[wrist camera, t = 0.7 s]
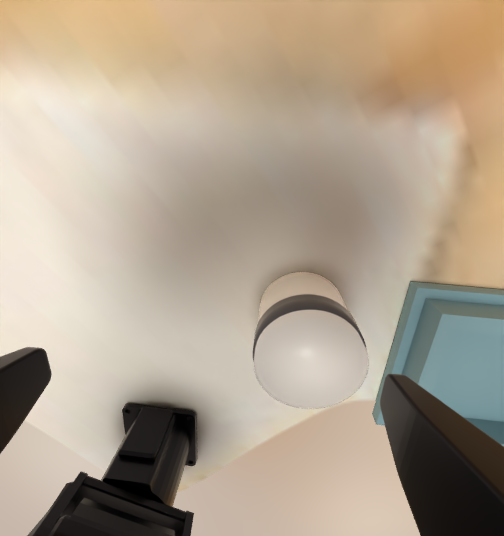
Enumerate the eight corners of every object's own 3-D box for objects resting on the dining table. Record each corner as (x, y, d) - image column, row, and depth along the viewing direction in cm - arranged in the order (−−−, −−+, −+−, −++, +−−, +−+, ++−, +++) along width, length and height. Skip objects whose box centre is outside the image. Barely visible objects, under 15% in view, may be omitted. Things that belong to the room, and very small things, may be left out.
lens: (336, 349, 22) (357, 416, 16) (255, 341, 22) (248, 403, 16) (352, 274, 19) (382, 321, 14) (261, 266, 20) (255, 309, 14)
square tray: (523, 430, 23) (558, 468, 20) (372, 413, 23) (385, 448, 21) (599, 297, 18) (656, 322, 16) (410, 281, 19) (433, 302, 16)
